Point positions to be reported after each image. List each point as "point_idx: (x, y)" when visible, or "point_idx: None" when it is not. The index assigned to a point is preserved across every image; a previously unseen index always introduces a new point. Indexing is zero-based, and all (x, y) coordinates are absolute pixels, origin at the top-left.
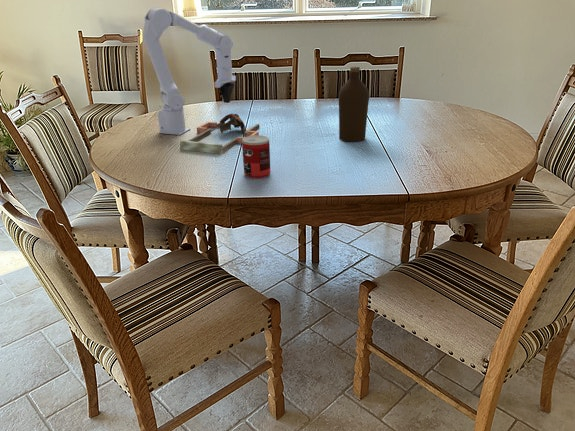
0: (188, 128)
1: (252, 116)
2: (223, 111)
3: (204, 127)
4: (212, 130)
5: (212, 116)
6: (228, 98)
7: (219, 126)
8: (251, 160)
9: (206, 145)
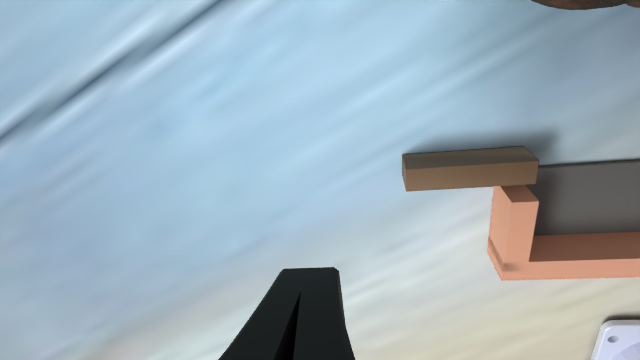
0: (617, 333)
1: (37, 67)
2: (93, 330)
3: (612, 243)
4: (622, 162)
5: (231, 336)
6: (344, 322)
7: (527, 152)
8: None
9: None
